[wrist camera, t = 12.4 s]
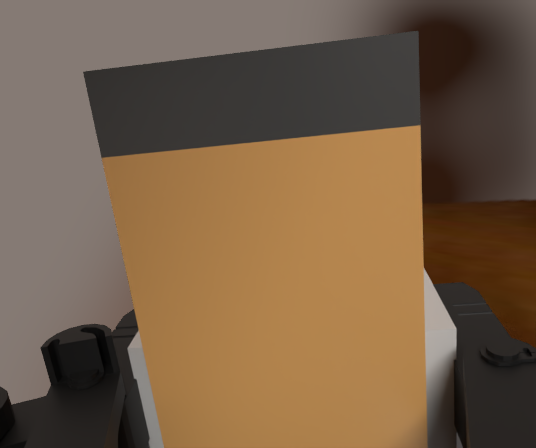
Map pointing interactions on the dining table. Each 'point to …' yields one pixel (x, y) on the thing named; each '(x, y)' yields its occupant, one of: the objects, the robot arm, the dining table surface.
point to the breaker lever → (274, 241)
